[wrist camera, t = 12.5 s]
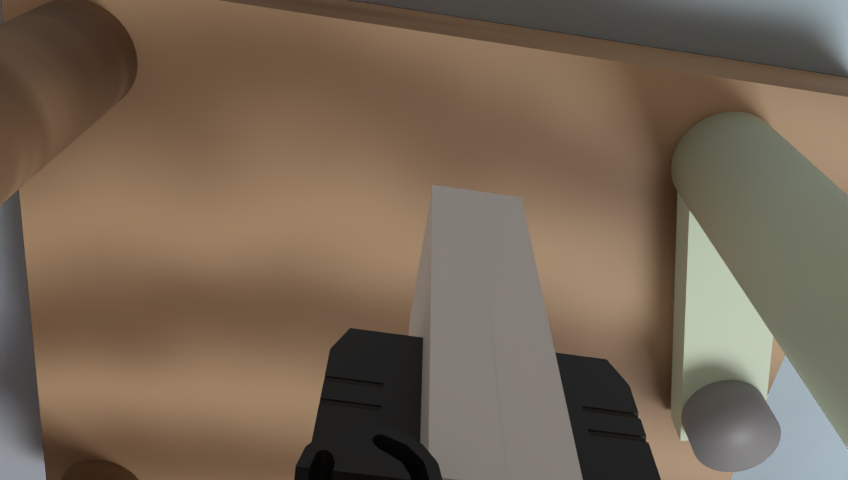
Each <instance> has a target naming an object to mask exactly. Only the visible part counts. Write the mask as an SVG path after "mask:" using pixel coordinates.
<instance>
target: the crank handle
mask: <svg viewBox="0 0 848 480" xmlns="http://www.w3.org/2000/svg"><path fill="white" fill-rule="evenodd" d="M671 176H672V181H673V183H674V186H675V188H676V190H677V222H676V255H675V288H674V320H673V353H672V385H671V419H672V421H673V424H674V426H675V429H676V431H677V434H678V436H679V439H680V441H689V442H690V445H691V447H692V449H693V452H694V454H695V456H696V458H697V459H698V460H699V461H700V462H701V463H702V464H703V465H705V466H706V467H708V468H710V469H713V470H716V471H721V472H737V471H743V470H746V469H750V468H752V467H754V466H757V465H758V464H760V463H762V462H763V461H765V460H766V459H767V458H768V457H769V456H770V455H771V454H772V453H773V452H774V451H775V449H776V448H777V446H778V444H779V441H780V436H781V430H780V426H779V423H778V421H777V420H776V418H775V416H774V414H773V413H772V411H771V409H770V407H769V406H768V404H767V392H768V382H769V372H770V363H771V353H772V343H773V337H774V338H775V340H776V341H777V343H778V344H779V346H780V347H781V349H782V350H783V352H784V353H785V355H786V356H787V358H788V359H789V361H790V362H791V364H792V365H793V367H794V368H795V370H796V371H797V373H798V374H799V376H800V377H801V379H802V381H803V382H804V384H805V385H806V387H807V388H808V390H809V391H810V393H811V394H812V396H813V397H814V399H815V400H816V402H817V403H818V405H819V406H820V408H821V409H822V411H823V412H824V414H825V415H826V417H827V418H828V420H829V421H830V423H831V424H832V426H833V427H834V429H835V430H836V432H837V433H838V435H839V436H840V438H841V439H842V441H843V442H844V444H845V445H846V447H847V448H848V195H847V194H846V193H845V192H844V191H842V190H841V189H840V188H839V187H838V186H837V185H836V184H835V183H833V182H832V181H831V180H830V179H829V178H828V177H827V176H826V175H825V174H823V173H822V172H821V171H820V170H819V169H818V168H817V167H816V166H815V165H813V164H812V163H811V162H810V161H809V160H808V159H807V158H806V157H804V156H803V155H802V154H801V153H800V152H799V151H798V150H797V149H796V148H794V147H793V146H792V145H791V144H790V143H789V142H788V141H787V140H786V139H784V138H783V137H782V136H781V135H780V134H779V133H778V132H777V131H775V130H774V129H773V128H772V127H771V126H770V125H769V124H768V123H767V122H765V121H764V120H763V119H761V118H759V117H757V116H756V115H753V114H750V113H746V112H739V111H729V112H723V113H718V114H715V115H712V116H710V117H707V118H705V119H704V120H702V121H700V122H699V123H697V124H696V125H694V126H693V127H692V128H691V129H690V130H689V131H688V132H687V133H686V134H685V135H684V136H683V137H682V139H681V140H680V142H679V143H678V145H677V147H676V149H675V152H674V154H673V158H672V163H671Z"/></svg>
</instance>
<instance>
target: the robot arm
mask: <svg viewBox="0 0 848 480" xmlns="http://www.w3.org/2000/svg"><path fill="white" fill-rule="evenodd" d="M638 414H639V413H638V410H637V407H636V404H635V401H634V398H633V395H632V392H631V389H630V386H629V384H628V383H627V382H626V381H625V380H624V379H623V377H622V376H621V375H620V374H619V373H618V372H617V371H616V369H615V368H614V367H613V366H612V365H611V364H610V363H609V361H608V360H607V359H601V358H593V357H586V356H578V355H571V354H563V353H555V350H554V345H553V340H552V336H551V331H550V327H549V322H548V317H547V313H546V308H545V304H544V299H543V294H542V290H541V285H540V281H539V276H538V271H537V267H536V262H535V257H534V253H533V248H532V244H531V239H530V234H529V230H528V225H527V221H526V216H525V211H524V207H523V202H522V198H521V197H515V196H508V195H501V194H494V193H487V192H480V191H473V190H466V189H459V188H452V187H445V186H438V185H432V191H431V197H430V203H429V209H428V214H427V220H426V226H425V232H424V238H423V244H422V250H421V256H420V262H419V268H418V274H417V279H416V285H415V291H414V297H413V303H412V309H411V315H410V322H409V336H408V335H400V334H392V333H385V332H377V331H370V330H362V329H355V328H350V329H349V330H348V331H347V332H346V333H345V334H344V335H343V336H342V337H341V338H340V339H339V340H338V341H337V342H336V343H335V344H334V345H333V346H332V347H331V348H330V352H329V357H328V362H327V367H326V372H325V378H324V382H323V387H322V392H321V397H320V403H319V407H318V412H317V417H316V422H315V427H314V432H313V437H312V442H311V443H309V444H308V445H307V446H306V447H305V448H304V450H303V452H302V454H301V456H300V458H299V460H298V462H297V464H296V467H295V477H294V480H661V478H660V475H659V472H658V469H657V466H656V463H655V460H654V457H653V454H652V451H651V448H650V445H649V442H646V433H645V430H644V427H643V424H642V421H641V419H639V418H638Z"/></svg>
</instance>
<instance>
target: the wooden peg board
mask: <svg viewBox="0 0 848 480" xmlns="http://www.w3.org/2000/svg"><path fill="white" fill-rule="evenodd" d="M1 5H2V16H3V23H2V24H0V205H2V204H3V203H4V202H5V201H6V200H7V199H8V198H10V197H11V196H12V195H13V194H14V193H15V192H16V191H18V190H19V196H20V207H21V217H22V228H23V238H24V249H25V260H26V270H27V281H28V291H29V302H30V312H31V323H32V334H33V344H34V355H35V365H36V376H37V387H38V397H39V408H40V418H41V429H42V440H43V450H44V461H45V471H46V480H294V477H295V467H296V464H297V462H298V460H299V458H300V456H301V454H302V452H303V450H304V448H305V447H306V446H307V445H308V444H309V443H311V442H312V437H313V432H314V427H315V422H316V417H317V412H318V407H319V403H320V397H321V392H322V387H323V382H324V378H325V372H326V367H327V362H328V357H329V352H330V348H331V347H332V346H333V345H334V344H335V343H336V342H337V341H338V340H339V339H340V338H341V337H342V336H343V335H344V334H345V333H346V332H347V331H348V330H349V329H350V328H355V329H362V330H370V331H377V332H385V333H392V334H400V335H408V336H409V322H410V315H411V309H412V303H413V297H414V291H415V285H416V279H417V274H418V268H419V262H420V256H421V250H422V244H423V238H424V232H425V226H426V220H427V214H428V209H429V203H430V197H431V191H432V185H438V186H445V187H452V188H459V189H466V190H473V191H480V192H487V193H494V194H501V195H508V196H515V197H521V198H522V202H523V207H524V211H525V216H526V221H527V225H528V230H529V234H530V239H531V244H532V248H533V253H534V257H535V262H536V267H537V271H538V276H539V281H540V285H541V290H542V294H543V299H544V304H545V308H546V313H547V317H548V322H549V327H550V331H551V336H552V340H553V345H554V350H555V353H563V354H571V355H578V356H586V357H593V358H601V359H607V360H608V361H609V363H610V364H611V365H612V366H613V367H614V368H615V369H616V371H617V372H618V373H619V374H620V375H621V376H622V377H623V379H624V380H625V381H626V382H627V383H628V384H629V386H630V389H631V392H632V395H633V398H634V401H635V404H636V407H637V410H638V413H639V414H638V418H639V419H641V421H642V424H643V427H644V430H645V433H646V442H649V445H650V448H651V451H652V454H653V457H654V460H655V463H656V466H657V469H658V472H659V475H660V478H661V480H730V479H731V477H732V475H733V472H721V471H716V470H713V469H710V468H708V467H706V466H705V465H703V464H702V463H701V462H700V461H699V460H698V459H697V458H696V456H695V454H694V452H693V449H692V447H691V445H690V442H689V441H680V439H679V436H678V434H677V431H676V429H675V426H674V424H673V421H672V419H671V385H672V353H673V320H674V288H675V255H676V222H677V190H676V188H675V186H674V183H673V181H672V176H671V163H672V158H673V154H674V152H675V149H676V147H677V145H678V143H679V142H680V140H681V139H682V137H683V136H684V135H685V134H686V133H687V132H688V131H689V130H690V129H691V128H692V127H693V126H694V125H696V124H697V123H699V122H700V121H702V120H704V119H705V118H707V117H710V116H712V115H715V114H718V113H723V112H729V111H739V112H746V113H750V114H753V115H756V116H757V117H759V118H761V119H763V120H764V121H765V122H767V123H768V124H769V125H770V126H771V127H772V128H773V129H774V130H775V131H777V132H778V133H779V134H780V135H781V136H782V137H783V138H784V139H786V140H787V141H788V142H789V143H790V144H791V145H792V146H793V147H794V148H796V149H797V150H798V151H799V152H800V153H801V154H802V155H803V156H804V157H806V158H807V159H808V160H809V161H810V162H811V163H812V164H813V165H815V166H816V167H817V168H818V169H819V170H820V171H821V172H822V173H823V174H825V175H826V176H827V177H828V178H829V179H830V180H831V181H832V182H833V183H835V184H836V185H837V186H838V187H839V188H840V189H841V190H842V191H844V192H845V193H846V194H847V195H848V78H847V77H841V76H834V75H828V74H822V73H815V72H809V71H802V70H796V69H789V68H783V67H776V66H770V65H764V64H757V63H751V62H744V61H738V60H731V59H725V58H718V57H712V56H705V55H699V54H693V53H686V52H680V51H673V50H667V49H660V48H654V47H647V46H641V45H635V44H628V43H622V42H615V41H609V40H602V39H596V38H589V37H583V36H576V35H570V34H564V33H557V32H551V31H544V30H538V29H531V28H525V27H518V26H512V25H506V24H499V23H493V22H486V21H480V20H473V19H467V18H460V17H454V16H447V15H441V14H435V13H428V12H422V11H415V10H409V9H402V8H396V7H389V6H383V5H377V4H370V3H364V2H357V1H351V0H1ZM784 356H785V353H784V352H783V350H782V349H781V347H780V346H779V344H778V343H777V341H776V340H775V338H774V337H773V343H772V353H771V363H770V372H769V382H768V392H767V395H768V393H769V390H770V388H771V386H772V384H773V381H774V379H775V377H776V374H777V372H778V370H779V368H780V365H781V363H782V361H783V359H784Z"/></svg>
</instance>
